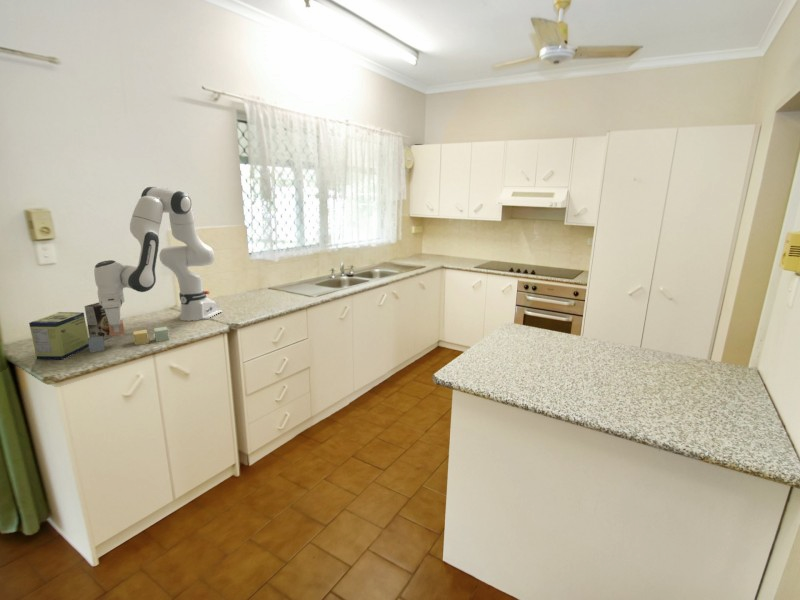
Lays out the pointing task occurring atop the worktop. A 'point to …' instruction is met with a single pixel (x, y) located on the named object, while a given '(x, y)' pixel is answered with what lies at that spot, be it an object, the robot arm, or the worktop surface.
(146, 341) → the ochre block
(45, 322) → the protein box
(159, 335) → the sage block
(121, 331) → the terracotta block
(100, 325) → the coffee box
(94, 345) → the slate block
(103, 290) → the robot arm
